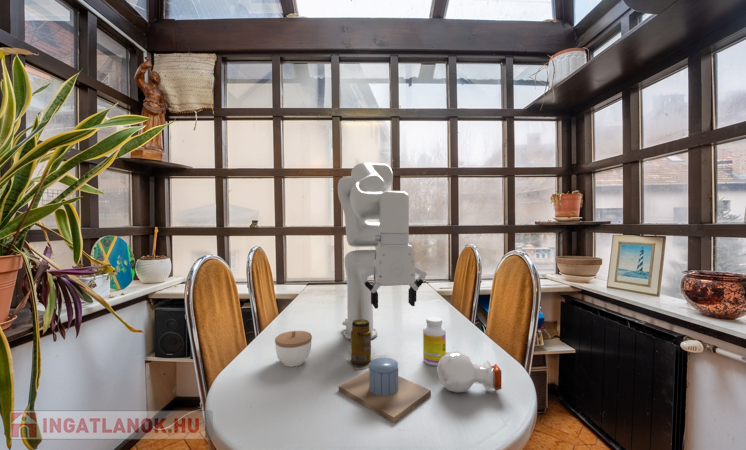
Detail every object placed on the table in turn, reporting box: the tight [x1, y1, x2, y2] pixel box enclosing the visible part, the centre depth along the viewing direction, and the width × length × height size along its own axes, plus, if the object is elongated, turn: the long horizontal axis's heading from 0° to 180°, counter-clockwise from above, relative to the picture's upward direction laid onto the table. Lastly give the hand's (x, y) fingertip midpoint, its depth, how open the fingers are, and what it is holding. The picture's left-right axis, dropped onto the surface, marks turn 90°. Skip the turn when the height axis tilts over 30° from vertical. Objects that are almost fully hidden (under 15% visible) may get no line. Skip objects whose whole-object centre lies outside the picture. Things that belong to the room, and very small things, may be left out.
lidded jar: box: [274, 330, 312, 368], centre depth 92 cm, size 11×11×9 cm
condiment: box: [345, 319, 374, 371], centre depth 92 cm, size 7×8×12 cm
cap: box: [368, 356, 399, 396], centre depth 75 cm, size 7×7×6 cm
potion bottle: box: [436, 350, 502, 394], centre depth 76 cm, size 9×10×15 cm
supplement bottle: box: [422, 316, 447, 367], centre depth 92 cm, size 7×7×13 cm
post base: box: [337, 370, 432, 423], centre depth 75 cm, size 18×14×6 cm
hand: (393, 305), depth 79 cm, fingers open, 9 cm apart
